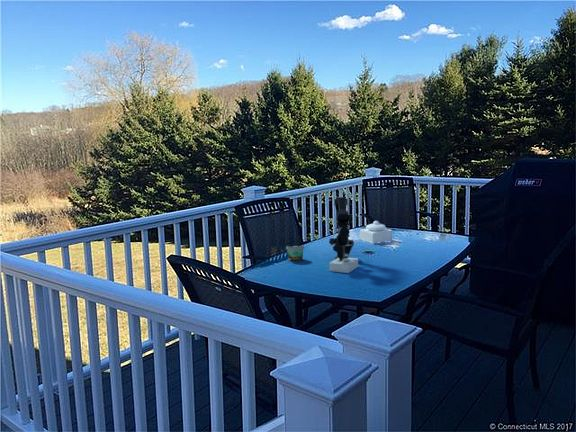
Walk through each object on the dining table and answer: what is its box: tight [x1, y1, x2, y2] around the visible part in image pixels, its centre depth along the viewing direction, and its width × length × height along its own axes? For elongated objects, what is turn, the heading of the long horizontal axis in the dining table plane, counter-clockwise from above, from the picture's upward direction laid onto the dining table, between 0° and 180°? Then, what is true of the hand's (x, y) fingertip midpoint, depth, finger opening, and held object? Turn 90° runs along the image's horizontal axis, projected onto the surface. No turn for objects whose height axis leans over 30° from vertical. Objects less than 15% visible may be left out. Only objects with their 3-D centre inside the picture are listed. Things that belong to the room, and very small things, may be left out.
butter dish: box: [358, 220, 393, 244], centre depth 358 cm, size 18×18×16 cm
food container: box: [285, 244, 305, 263], centre depth 307 cm, size 12×6×10 cm, turn 105°
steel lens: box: [340, 253, 349, 262], centre depth 284 cm, size 5×5×7 cm
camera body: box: [328, 257, 359, 274], centre depth 284 cm, size 16×12×6 cm
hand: (343, 259), depth 284 cm, fingers open, 9 cm apart
